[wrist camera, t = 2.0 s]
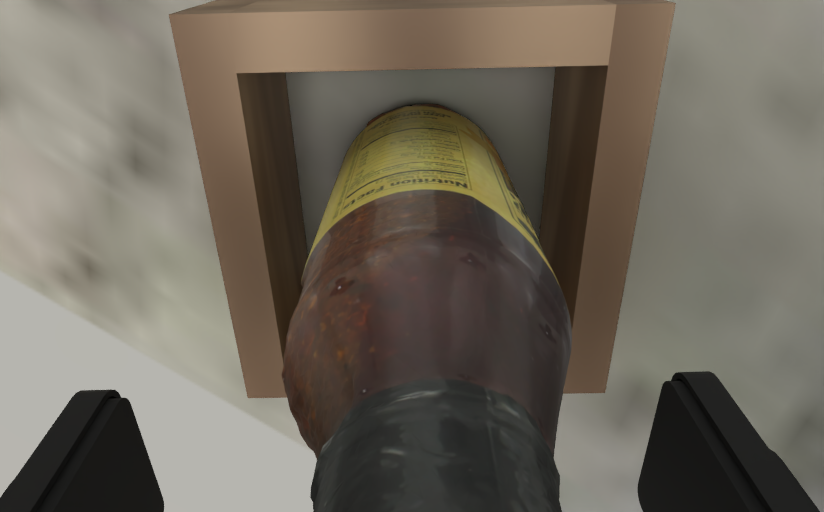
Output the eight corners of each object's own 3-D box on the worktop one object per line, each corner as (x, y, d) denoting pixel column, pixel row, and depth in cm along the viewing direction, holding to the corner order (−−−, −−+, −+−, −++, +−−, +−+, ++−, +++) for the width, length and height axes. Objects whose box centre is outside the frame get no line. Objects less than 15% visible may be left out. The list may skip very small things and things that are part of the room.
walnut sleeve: (606, -14, 20) (675, 3, 15) (566, 302, 26) (605, 392, 21) (232, -5, 20) (168, 14, 15) (281, 306, 26) (247, 397, 21)
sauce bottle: (475, 253, 25) (619, 967, 8) (332, 226, 24) (132, 935, 7) (520, 104, 22) (928, 732, 5) (357, 69, 21) (109, 640, 4)
